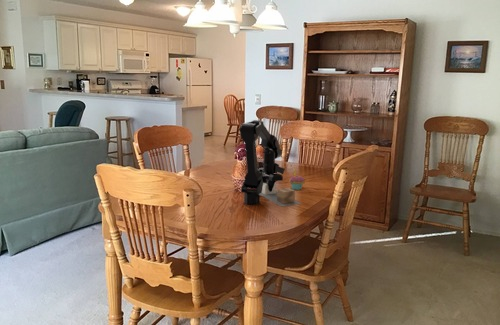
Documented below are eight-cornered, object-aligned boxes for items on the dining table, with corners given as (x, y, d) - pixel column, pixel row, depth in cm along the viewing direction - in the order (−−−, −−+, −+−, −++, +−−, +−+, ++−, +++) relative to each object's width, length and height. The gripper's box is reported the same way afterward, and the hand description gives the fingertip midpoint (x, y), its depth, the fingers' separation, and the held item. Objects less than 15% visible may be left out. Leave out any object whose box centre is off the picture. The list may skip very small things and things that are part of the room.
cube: (283, 204, 199) (284, 192, 198) (277, 200, 205) (277, 189, 203) (294, 202, 202) (294, 190, 201) (287, 199, 207) (288, 187, 206)
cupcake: (292, 191, 226) (292, 169, 223) (286, 187, 234) (287, 165, 231) (306, 190, 228) (307, 168, 225) (301, 186, 236) (301, 165, 233)
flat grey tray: (281, 208, 196) (282, 196, 195) (256, 194, 218) (256, 183, 217) (301, 205, 201) (302, 193, 200) (275, 192, 223) (275, 181, 222)
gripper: (292, 163, 210) (291, 193, 213) (273, 156, 226) (273, 184, 230) (273, 164, 205) (272, 195, 208) (255, 158, 221) (254, 186, 225)
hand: (268, 190), depth 218 cm, fingers closed on flat grey tray, 4 cm apart
